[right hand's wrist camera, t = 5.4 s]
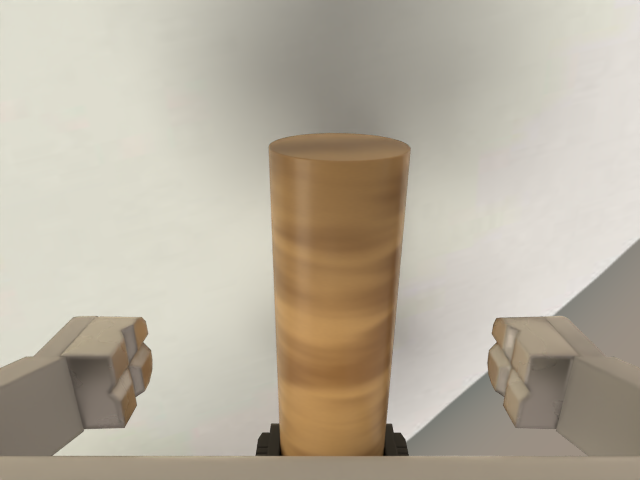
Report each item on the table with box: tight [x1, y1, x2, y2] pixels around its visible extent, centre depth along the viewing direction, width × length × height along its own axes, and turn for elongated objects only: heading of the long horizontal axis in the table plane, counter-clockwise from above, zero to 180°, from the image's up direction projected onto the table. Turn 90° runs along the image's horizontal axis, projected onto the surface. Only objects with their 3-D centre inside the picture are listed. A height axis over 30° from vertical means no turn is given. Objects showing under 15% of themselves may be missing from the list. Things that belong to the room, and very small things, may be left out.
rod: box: [269, 133, 410, 456], centre depth 23 cm, size 22×6×6 cm, turn 0°
